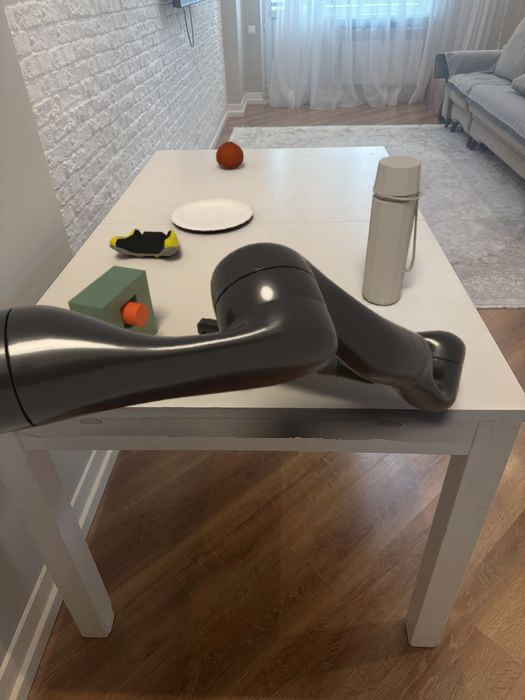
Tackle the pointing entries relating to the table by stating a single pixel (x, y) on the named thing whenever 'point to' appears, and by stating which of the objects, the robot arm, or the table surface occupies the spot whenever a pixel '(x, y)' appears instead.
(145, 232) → the toy running shoe
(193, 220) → the plate
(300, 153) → the table surface
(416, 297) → the table surface
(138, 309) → the push knob
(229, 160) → the fruit
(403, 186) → the water bottle
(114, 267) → the block
